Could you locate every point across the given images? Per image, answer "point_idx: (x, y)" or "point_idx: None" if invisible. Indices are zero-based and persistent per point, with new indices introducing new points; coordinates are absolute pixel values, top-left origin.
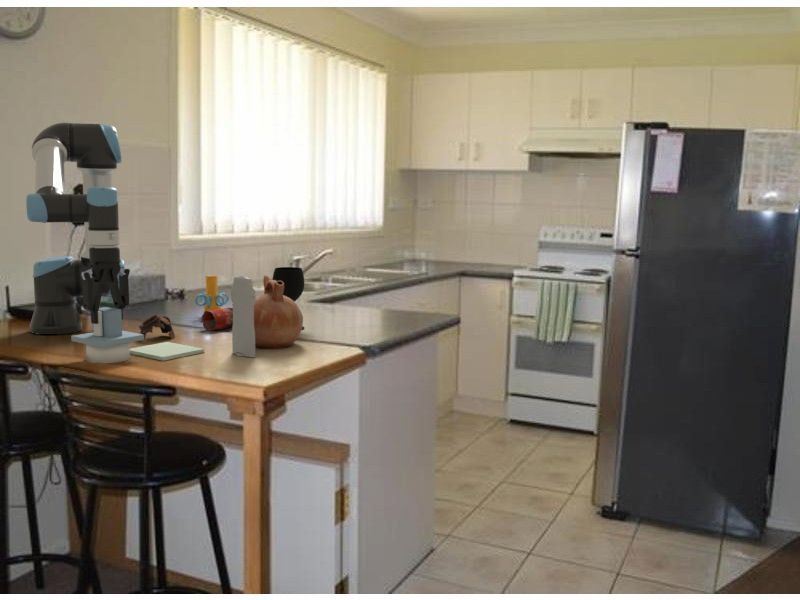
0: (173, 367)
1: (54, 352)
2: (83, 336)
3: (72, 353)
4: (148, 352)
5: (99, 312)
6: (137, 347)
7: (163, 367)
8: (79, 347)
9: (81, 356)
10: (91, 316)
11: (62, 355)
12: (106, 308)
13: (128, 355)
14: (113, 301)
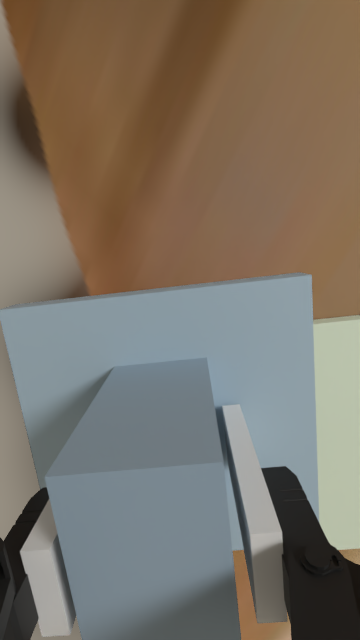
0: (262, 631)
1: (54, 61)
2: (48, 377)
3: (111, 155)
4: (321, 449)
5: (47, 630)
6: (357, 325)
7: (240, 612)
8: (205, 18)
9: (114, 253)
10: (10, 542)
11: (58, 168)
12: (176, 557)
13: None
14: (291, 634)
